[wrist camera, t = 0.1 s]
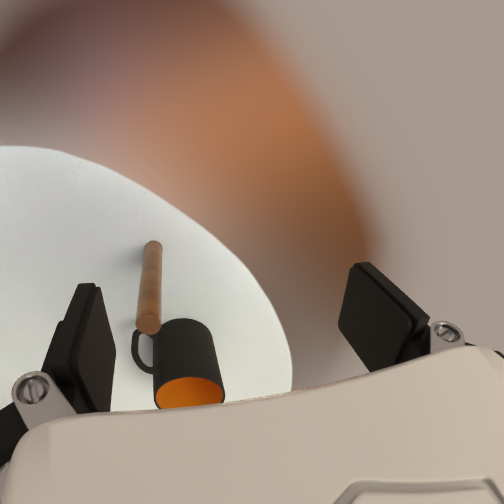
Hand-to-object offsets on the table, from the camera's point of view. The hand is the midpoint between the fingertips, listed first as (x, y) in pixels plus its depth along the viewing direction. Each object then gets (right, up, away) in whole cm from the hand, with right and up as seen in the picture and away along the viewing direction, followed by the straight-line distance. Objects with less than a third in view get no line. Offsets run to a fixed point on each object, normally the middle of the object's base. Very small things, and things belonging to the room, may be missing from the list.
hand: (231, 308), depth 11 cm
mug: (-10, -9, +30) cm, 33 cm away
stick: (-10, +2, +24) cm, 26 cm away
